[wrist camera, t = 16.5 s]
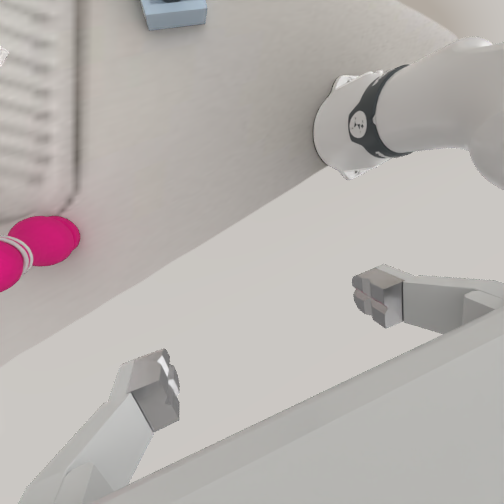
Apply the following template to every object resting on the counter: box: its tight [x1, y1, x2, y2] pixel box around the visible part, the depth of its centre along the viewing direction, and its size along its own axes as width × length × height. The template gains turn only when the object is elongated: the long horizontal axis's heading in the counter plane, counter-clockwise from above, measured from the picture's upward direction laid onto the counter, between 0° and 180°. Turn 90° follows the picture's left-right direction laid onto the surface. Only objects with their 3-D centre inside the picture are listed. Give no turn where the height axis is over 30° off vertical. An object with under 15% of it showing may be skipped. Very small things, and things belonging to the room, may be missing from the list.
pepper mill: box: [0, 216, 80, 292], centre depth 29 cm, size 7×7×20 cm
